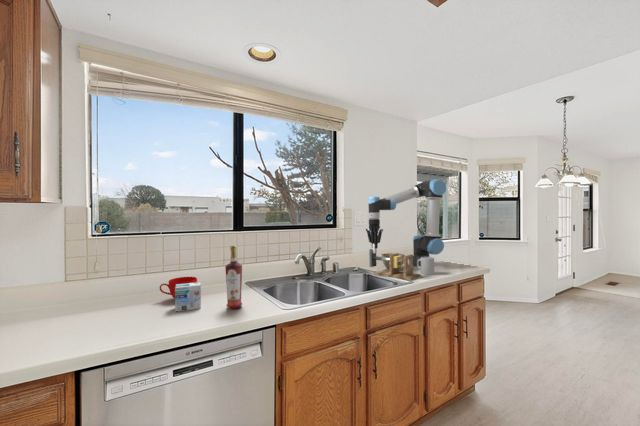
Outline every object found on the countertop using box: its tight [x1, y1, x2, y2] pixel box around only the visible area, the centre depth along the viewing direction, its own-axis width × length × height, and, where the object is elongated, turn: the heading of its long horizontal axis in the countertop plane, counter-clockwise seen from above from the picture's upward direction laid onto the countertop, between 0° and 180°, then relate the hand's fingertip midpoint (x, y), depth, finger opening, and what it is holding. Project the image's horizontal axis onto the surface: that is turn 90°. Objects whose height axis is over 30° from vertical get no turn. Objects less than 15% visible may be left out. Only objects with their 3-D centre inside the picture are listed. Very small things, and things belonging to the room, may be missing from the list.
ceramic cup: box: [159, 276, 198, 300], centre depth 148 cm, size 13×17×10 cm
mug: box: [416, 256, 435, 276], centre depth 201 cm, size 12×8×11 cm
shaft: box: [368, 248, 403, 268], centre depth 200 cm, size 25×6×12 cm, turn 47°
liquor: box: [225, 244, 243, 310], centre depth 135 cm, size 7×7×28 cm
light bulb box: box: [174, 281, 202, 313], centre depth 135 cm, size 11×7×11 cm, turn 113°
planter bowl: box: [381, 252, 406, 271], centre depth 215 cm, size 16×16×11 cm
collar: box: [393, 256, 403, 268], centre depth 195 cm, size 3×7×7 cm, turn 137°
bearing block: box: [373, 252, 422, 281], centre depth 195 cm, size 26×14×14 cm, turn 47°
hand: (374, 252), depth 207 cm, fingers closed
